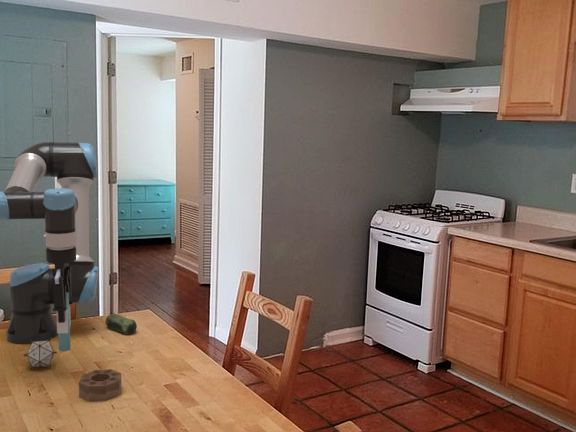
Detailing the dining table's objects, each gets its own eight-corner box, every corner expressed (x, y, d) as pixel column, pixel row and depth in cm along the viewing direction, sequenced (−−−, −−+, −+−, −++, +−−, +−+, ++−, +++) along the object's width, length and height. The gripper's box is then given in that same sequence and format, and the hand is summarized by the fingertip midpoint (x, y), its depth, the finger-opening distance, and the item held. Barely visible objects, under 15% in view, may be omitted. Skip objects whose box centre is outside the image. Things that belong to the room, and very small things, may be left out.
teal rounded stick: (60, 347, 158) (57, 291, 155) (71, 346, 158) (69, 291, 156) (57, 351, 155) (55, 295, 152) (69, 351, 155) (67, 295, 153)
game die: (44, 381, 162) (41, 363, 155) (19, 368, 163) (15, 349, 156) (64, 357, 168) (62, 338, 161) (40, 344, 169) (37, 325, 162)
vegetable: (140, 333, 192) (139, 318, 191) (127, 337, 188) (127, 322, 187) (114, 323, 200) (114, 310, 199) (101, 327, 196) (101, 313, 195)
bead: (84, 384, 152) (83, 370, 152) (122, 382, 154) (122, 368, 153) (76, 402, 143) (76, 387, 142) (118, 399, 144) (117, 385, 144)
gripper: (53, 240, 159) (56, 320, 163) (38, 254, 143) (42, 342, 147) (81, 240, 160) (83, 319, 164) (69, 253, 145) (72, 341, 149)
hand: (64, 330), depth 156 cm, fingers closed on teal rounded stick, 3 cm apart
